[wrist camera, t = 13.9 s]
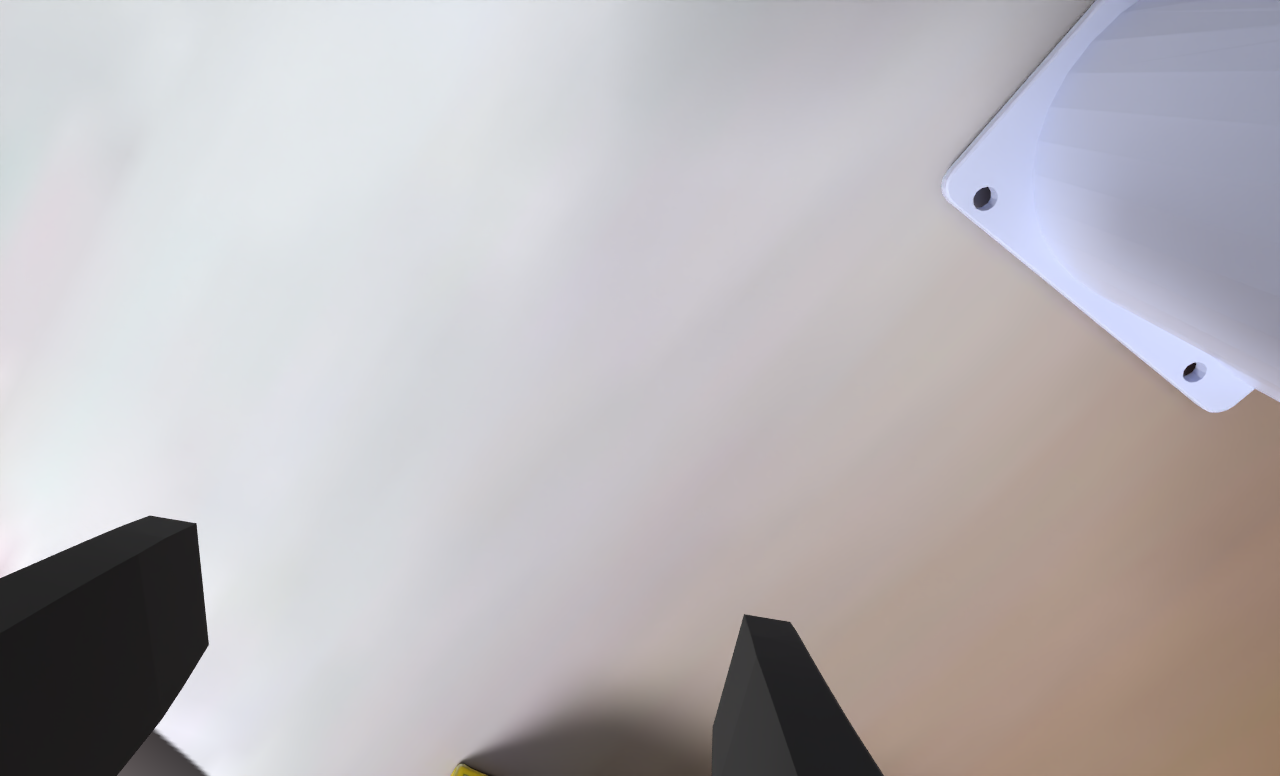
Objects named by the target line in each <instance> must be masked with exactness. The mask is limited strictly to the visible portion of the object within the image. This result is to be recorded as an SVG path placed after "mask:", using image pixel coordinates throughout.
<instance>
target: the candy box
mask: <svg viewBox="0 0 1280 776" xmlns="http://www.w3.org/2000/svg"><path fill="white" fill-rule="evenodd" d="M451 776H488V775H485V774H483V773H481V772H478V771H476V770H474V769H471V768H470V767H468V766H467V765H465V764H459V765H458V766H457V767H456V768H455V769H454V771H453V773H452V774H451Z"/></svg>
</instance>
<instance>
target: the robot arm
mask: <svg viewBox="0 0 1280 776" xmlns="http://www.w3.org/2000/svg"><path fill="white" fill-rule="evenodd" d="M984 187H988V188H989V189H990V191H991V198H990V200H989V202H988V203H987V204H986V205H984V206H983V207H980V208H976V207H975V206H974V204H973V197H974V196H975V194H976V192H977V191H978V190H980V189H981V188H984ZM941 189H942V193H943V196H944V197H945V198H946V200H947V201H948V202H949V203H950V204H951V205H953V206H954V207H955V208H956V209H958V210H959V211H960V212H961V213H963V214H964V215H965V216H966V217H967V218H969V219H970V220H971V221H972V222H974V223H975V224H976V225H977V226H978V227H980V228H981V229H982V230H983V231H985V232H986V233H987V234H988V235H989V236H991V237H992V238H993V239H994V240H996V241H997V242H998V243H999V244H1000V245H1002V246H1003V247H1004V248H1005V249H1007V250H1008V251H1009V252H1010V253H1011V254H1013V255H1014V256H1015V257H1016V258H1018V259H1019V260H1020V261H1021V262H1023V263H1024V264H1025V265H1026V266H1027V267H1029V268H1030V269H1031V270H1032V271H1034V272H1035V273H1036V274H1037V275H1038V276H1040V277H1041V278H1042V279H1043V280H1045V281H1046V282H1047V283H1048V284H1049V285H1051V286H1052V287H1053V288H1054V289H1056V290H1057V291H1058V292H1059V293H1060V294H1062V295H1063V296H1064V297H1065V298H1067V299H1068V300H1069V301H1070V302H1071V303H1073V304H1074V305H1075V306H1076V307H1078V308H1079V309H1080V310H1081V311H1083V312H1084V313H1085V314H1086V315H1087V316H1089V317H1090V318H1091V319H1092V320H1094V321H1095V322H1096V323H1097V324H1098V325H1100V326H1101V327H1102V328H1103V329H1105V330H1106V331H1107V332H1108V333H1109V334H1111V335H1112V336H1113V337H1114V338H1116V339H1117V340H1118V341H1119V342H1120V343H1122V344H1123V345H1124V346H1125V347H1127V348H1128V349H1129V350H1130V351H1131V352H1133V353H1134V354H1135V355H1136V356H1138V357H1139V358H1140V359H1141V360H1142V361H1144V362H1145V363H1146V364H1147V365H1149V366H1150V367H1151V368H1152V369H1154V370H1155V371H1156V372H1157V373H1158V374H1160V375H1161V376H1162V377H1163V378H1165V379H1166V380H1167V381H1168V382H1169V383H1171V384H1172V385H1173V386H1174V387H1176V388H1177V389H1178V390H1179V391H1180V392H1182V393H1183V394H1184V395H1185V396H1187V397H1188V398H1189V399H1190V400H1191V401H1193V402H1194V403H1195V404H1197V405H1198V406H1200V407H1201V408H1203V409H1204V410H1207V411H1209V412H1217V413H1218V412H1222V411H1226V410H1228V409H1230V408H1231V407H1233V406H1235V405H1236V404H1237V403H1238V402H1239V401H1241V400H1242V399H1243V398H1244V397H1245V396H1247V395H1248V394H1249V393H1250V392H1252V391H1253V390H1254V389H1257V390H1259V391H1260V392H1262V393H1264V394H1266V395H1267V396H1269V397H1271V398H1273V399H1275V400H1276V401H1278V402H1280V0H1096V1H1095V2H1094V3H1093V4H1092V5H1091V7H1090V8H1089V9H1088V10H1087V11H1086V12H1085V13H1084V15H1083V16H1082V17H1081V18H1080V19H1079V20H1078V22H1077V23H1076V24H1075V25H1074V26H1073V27H1072V28H1071V30H1070V31H1069V32H1068V33H1067V34H1066V35H1065V36H1064V38H1063V39H1062V40H1061V41H1060V42H1059V43H1058V44H1057V46H1056V47H1055V48H1054V49H1053V50H1052V51H1051V52H1050V54H1049V55H1048V56H1047V57H1046V58H1045V59H1044V60H1043V62H1042V63H1041V64H1040V65H1039V66H1038V67H1037V68H1036V70H1035V71H1034V72H1033V73H1032V74H1031V75H1030V77H1029V78H1028V79H1027V80H1026V81H1025V82H1024V83H1023V85H1022V86H1021V87H1020V88H1019V89H1018V90H1017V91H1016V93H1015V94H1014V95H1013V96H1012V97H1011V98H1010V99H1009V101H1008V102H1007V103H1006V104H1005V105H1004V106H1003V107H1002V109H1001V110H1000V111H999V112H998V113H997V114H996V115H995V117H994V118H993V119H992V120H991V121H990V122H989V123H988V125H987V126H986V127H985V128H984V129H983V130H982V132H981V133H980V134H979V135H978V136H977V137H976V138H975V140H974V141H973V142H972V143H971V144H970V145H969V146H968V148H967V149H966V150H965V151H964V152H963V153H962V154H961V156H960V157H959V158H958V159H957V160H956V161H955V162H954V164H953V165H952V166H951V167H950V168H949V169H948V171H947V172H946V174H945V176H944V177H943V180H942V185H941ZM1192 363H1196V368H1195V369H1194V370H1193V372H1192V373H1190V374H1188V375H1186V376H1183V371H1184V370H1185V369H1186V367H1187V366H1188V365H1190V364H1192ZM208 645H209V642H208V632H207V623H206V613H205V603H204V593H203V584H202V574H201V564H200V554H199V545H198V535H197V525H196V523H191V522H185V521H179V520H173V519H167V518H161V517H155V516H148V517H145V518H142V519H139V520H137V521H134V522H131V523H129V524H126V525H124V526H121V527H118V528H116V529H114V530H111V531H109V532H106V533H104V534H102V535H99V536H97V537H94V538H92V539H90V540H87V541H85V542H83V543H80V544H78V545H76V546H73V547H71V548H69V549H67V550H64V551H62V552H60V553H57V554H55V555H53V556H50V557H48V558H46V559H44V560H41V561H39V562H37V563H34V564H32V565H30V566H28V567H25V568H23V569H21V570H18V571H16V572H14V573H11V574H9V575H7V576H4V577H2V578H0V776H117V775H118V773H119V772H120V771H121V770H122V769H123V767H124V766H125V765H126V764H127V762H128V761H129V760H130V759H131V757H132V756H133V755H134V754H135V752H136V751H137V750H138V749H139V747H140V746H141V745H142V744H143V742H144V741H145V740H146V739H147V737H148V736H149V735H150V734H151V732H152V731H153V730H154V728H155V727H156V726H157V725H158V723H159V722H160V721H161V720H162V718H163V717H164V715H165V714H166V712H167V711H168V709H169V707H170V706H171V704H172V703H173V701H174V700H175V698H176V697H177V695H178V694H179V692H180V691H181V689H182V688H183V686H184V685H185V683H186V681H187V680H188V678H189V676H190V675H191V673H192V672H193V670H194V668H195V667H196V665H197V663H198V662H199V660H200V658H201V657H202V655H203V654H204V652H205V650H206V649H207V647H208ZM712 776H884V775H883V774H882V772H881V770H880V769H879V767H878V766H877V764H876V763H875V761H874V760H873V758H872V756H871V755H870V753H869V752H868V750H867V749H866V747H865V746H864V744H863V742H862V741H861V739H860V738H859V736H858V735H857V733H856V732H855V730H854V728H853V727H852V725H851V723H850V722H849V720H848V719H847V717H846V715H845V714H844V712H843V710H842V709H841V707H840V705H839V704H838V702H837V700H836V699H835V697H834V695H833V694H832V692H831V690H830V689H829V687H828V685H827V684H826V682H825V680H824V678H823V677H822V675H821V673H820V672H819V670H818V668H817V666H816V665H815V663H814V661H813V659H812V658H811V656H810V654H809V652H808V651H807V649H806V647H805V645H804V644H803V642H802V640H801V638H800V637H799V635H798V633H797V631H796V630H795V628H794V627H793V626H792V624H791V623H790V622H787V621H781V620H775V619H769V618H763V617H757V616H751V615H745V614H744V617H743V620H742V624H741V628H740V631H739V635H738V638H737V642H736V646H735V649H734V653H733V656H732V660H731V664H730V667H729V671H728V674H727V678H726V682H725V685H724V689H723V692H722V696H721V700H720V703H719V707H718V710H717V714H716V718H715V721H714V725H713V739H712Z"/></svg>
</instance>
